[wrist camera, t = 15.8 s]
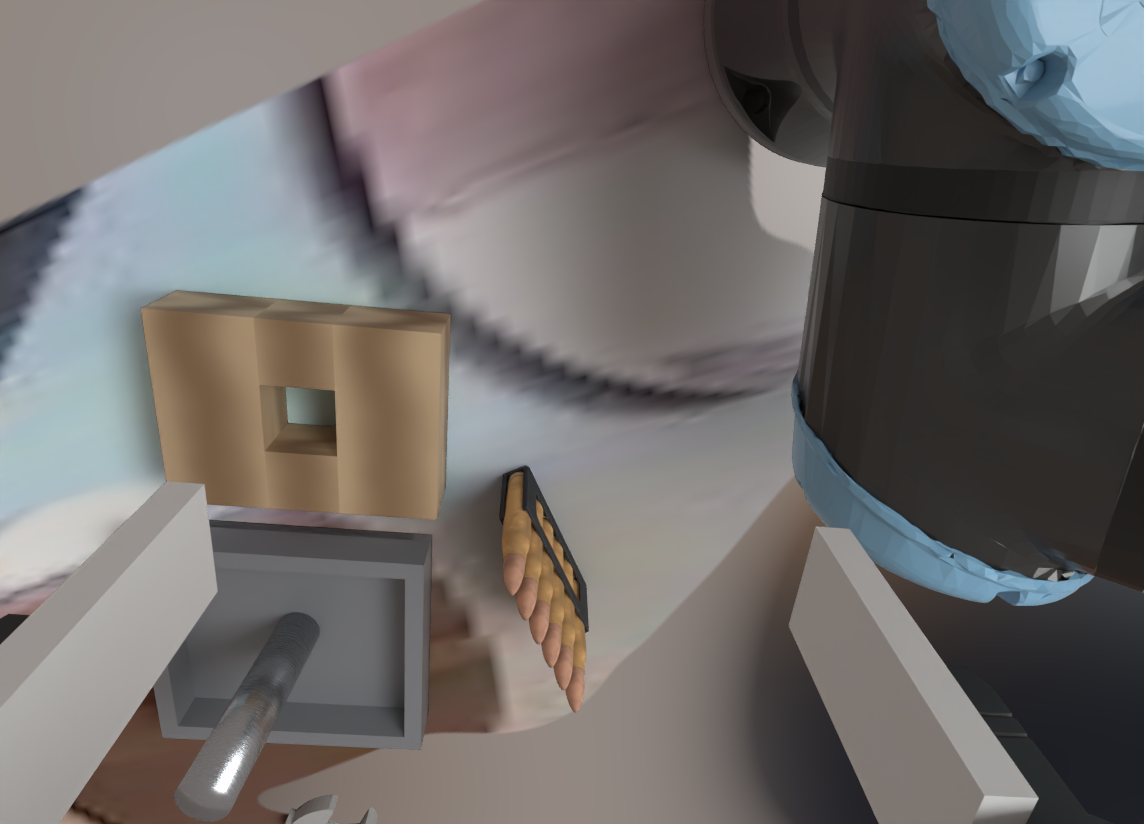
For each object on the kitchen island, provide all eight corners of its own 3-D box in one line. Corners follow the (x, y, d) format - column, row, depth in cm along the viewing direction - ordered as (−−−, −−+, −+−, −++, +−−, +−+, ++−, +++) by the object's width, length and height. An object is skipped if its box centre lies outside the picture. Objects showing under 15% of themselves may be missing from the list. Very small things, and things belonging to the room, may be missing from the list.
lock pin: (320, 614, 50) (230, 783, 37) (319, 648, 51) (232, 824, 38) (277, 609, 50) (172, 777, 37) (278, 644, 51) (176, 818, 38)
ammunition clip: (502, 474, 47) (487, 586, 36) (527, 464, 47) (521, 574, 36) (563, 594, 51) (566, 728, 40) (586, 586, 51) (597, 718, 40)
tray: (432, 534, 49) (423, 565, 46) (428, 712, 55) (420, 749, 52) (156, 516, 48) (128, 546, 44) (185, 700, 54) (162, 737, 51)
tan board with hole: (450, 313, 43) (441, 333, 39) (445, 487, 47) (436, 519, 44) (176, 290, 42) (140, 308, 38) (199, 470, 46) (169, 501, 43)
